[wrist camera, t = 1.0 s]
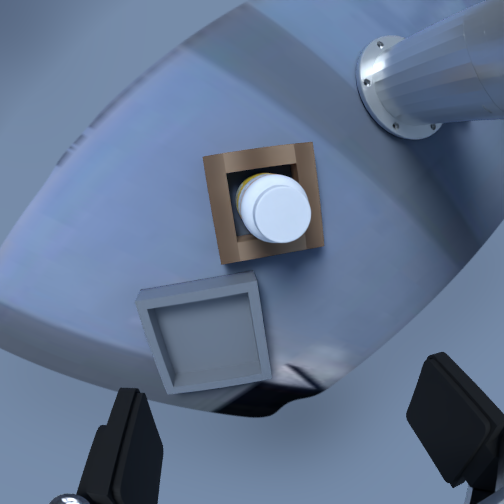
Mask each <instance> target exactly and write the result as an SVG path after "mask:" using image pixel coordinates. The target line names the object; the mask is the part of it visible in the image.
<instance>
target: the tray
mask: <svg viewBox="0 0 504 504" xmlns="http://www.w3.org/2000/svg"><path fill="white" fill-rule="evenodd" d="M135 304H136V307H137V311H138V314H139V317H140V320H141V323H142V326H143V329H144V332H145V335H146V338H147V341H148V344H149V347H150V350H151V352H152V355H153V358H154V361H155V363H156V366H157V369H158V371H159V374H160V376H161V379H162V382H163V384H164V387H165V389H166V392H167V394H176V393H185V392H193V391H201V390H208V389H215V388H222V387H228V386H234V385H240V384H246V383H251V382H257V381H262V380H267V379H272V375H271V369H270V362H269V356H268V349H267V343H266V336H265V330H264V323H263V317H262V310H261V304H260V297H259V291H258V284H257V280H256V277H255V274H254V272H253V270H252V271H246V272H241V273H235V274H229V275H224V276H218V277H213V278H207V279H201V280H195V281H190V282H184V283H178V284H172V285H166V286H160V287H154V288H148V289H142V290H140V292H139V294H138V296H137V298H136V300H135Z"/></svg>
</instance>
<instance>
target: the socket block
mask: <svg viewBox="0 0 504 504" xmlns="http://www.w3.org/2000/svg"><path fill="white" fill-rule="evenodd" d="M203 162H204V169H205V175H206V181H207V187H208V193H209V198H210V204H211V210H212V216H213V221H214V227H215V233H216V238H217V244H218V249H219V254H220V260H221V265H222V264H228V263H234V262H239V261H245V260H250V259H256V258H262V257H267V256H273V255H278V254H284V253H289V252H295V251H300V250H306V249H311V248H317V247H322V246H324V237H323V226H322V216H321V206H320V197H319V188H318V180H317V172H316V164H315V156H314V149H313V142H306V143H296V144H287V145H278V146H270V147H263V148H255V149H248V150H241V151H235V152H228V153H222V154H216V155H210V156H204V157H203ZM285 164H290V167H291V174H292V179H293V180H295V181H296V182H297V183H299V184H300V185H301V187H302V188H303V189H304V191H305V193H306V195H307V198H308V201H309V205H310V208H311V220H310V223H309V226H308V228H307V230H306V231H305V232H304V234H303V235H302V236H300V237H299V238H298V239H296V240H294V241H291V242H288V243H269V242H265V241H262V240H260V239H258V238H257V237H255V236H254V235H253V234H248V235H242V236H236V231H235V225H234V219H233V213H232V207H231V201H230V195H229V188H228V182H227V176H226V173H231V172H237V171H243V170H250V169H256V168H263V167H270V166H278V165H285Z"/></svg>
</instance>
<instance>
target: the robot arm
mask: <svg viewBox="0 0 504 504" xmlns="http://www.w3.org/2000/svg"><path fill="white" fill-rule="evenodd" d="M356 80H357V87H358V90H359V93H360V97H361V99H362V101H363V103H364V105H365V107H366V109H367V110H368V112H369V113H370V115H371V116H372V117H373V119H374V120H375V121H376V122H377V123H378V124H379V125H380V126H381V127H383V128H384V129H385V130H386V131H388V132H389V133H391V134H393V135H395V136H397V137H400V138H403V139H410V140H416V139H423V138H427V137H429V136H431V135H433V134H434V133H436V132H437V131H438V130H439V129H440V127H441V126H442V124H443V123H449V122H461V121H476V120H496V119H504V0H486V1H483V2H481V3H478V4H476V5H474V6H472V7H469V8H467V9H465V10H463V11H460V12H458V13H456V14H454V15H452V16H449V17H447V18H445V19H443V20H441V21H439V22H437V23H435V24H433V25H431V26H429V27H427V28H425V29H423V30H421V31H419V32H417V33H415V34H413V35H411V36H409V37H407V38H404V37H400V36H391V35H388V36H383V37H379V38H377V39H375V40H373V41H372V42H371V43H369V44H368V45H367V46H366V47H365V48H364V49H363V50H362V52H361V54H360V56H359V58H358V62H357V66H356ZM364 83H365V85H364ZM406 417H407V421H408V422H409V424H410V426H411V427H412V429H413V430H414V432H415V433H416V435H417V437H418V438H419V440H420V441H421V443H422V444H423V446H424V448H425V449H426V451H427V452H428V454H429V456H430V457H431V459H432V461H433V462H434V464H435V465H436V467H437V468H438V470H439V472H440V474H441V475H442V477H443V478H444V480H445V481H446V482H447V483H450V484H451V486H452V488H454V487H456V486H458V485H460V484H462V483H464V482H465V480H466V481H467V483H468V488H467V493H466V498H465V503H464V504H504V414H503V413H502V412H501V410H500V409H499V408H498V407H497V406H496V405H495V404H494V403H493V402H492V401H491V400H490V399H489V397H487V396H486V394H485V393H484V392H483V391H482V390H481V389H480V388H479V387H478V386H477V385H476V384H475V383H474V382H473V381H472V379H471V378H470V377H469V376H468V375H467V374H466V373H465V372H464V371H463V370H462V369H461V368H460V367H459V366H458V365H457V364H456V363H455V362H454V361H453V360H452V359H451V358H450V357H449V356H448V355H447V354H446V353H444V352H440V353H436V354H433V355H430V356H428V357H427V360H426V361H425V362H424V364H423V367H422V370H421V373H420V376H419V379H418V382H417V385H416V388H415V391H414V394H413V396H412V400H411V402H410V405H409V407H408V410H407V413H406ZM162 460H163V445H162V442H161V439H160V436H159V434H158V431H157V428H156V425H155V422H154V419H153V416H152V413H151V410H150V407H149V404H148V401H147V397H146V395H145V393H140V391H139V389H137V388H120V389H119V391H118V394H117V397H116V400H115V402H114V405H113V408H112V411H111V414H110V417H109V420H108V423H107V425H101V426H100V427H99V428H98V430H97V432H96V435H95V438H94V441H93V444H92V446H91V449H90V452H89V455H88V459H87V462H86V465H85V468H84V471H83V474H82V477H81V481H80V484H79V487H78V491H77V494H62V495H59V496H57V497H55V498H54V499H53V500H52V501H51V502H50V503H49V504H157V503H158V494H159V485H160V476H161V468H162Z"/></svg>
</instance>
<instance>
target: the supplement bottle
mask: <svg viewBox="0 0 504 504" xmlns="http://www.w3.org/2000/svg"><path fill="white" fill-rule="evenodd" d="M236 208H237V211H238V213H239V215H240V217H241V219H242V220H243V222H244V224H245V226H246V227H247V229H248V230H249V231H250V232H251V233H252V234H253V235H254V236H255V237H257V238H258V239H260V240H262V241H265V242H269V243H288V242H291V241H294V240H296V239H298V238H299V237H300V236H302V235H303V234H304V232H305V231H306V230H307V228H308V226H309V223H310V220H311V208H310V205H309V201H308V198H307V195H306V193H305V191H304V189H303V188H302V187H301V185H300V184H299V183H297V182H296V181H295V180H293V179H292V178H290V177H287V176H284V175H279V174H272V173H257V174H254V175H251V176H249V177H248V178H246V179H245V180H244V181H243V182H242V183H241V185H240V186H239V188H238V190H237V193H236Z"/></svg>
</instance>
